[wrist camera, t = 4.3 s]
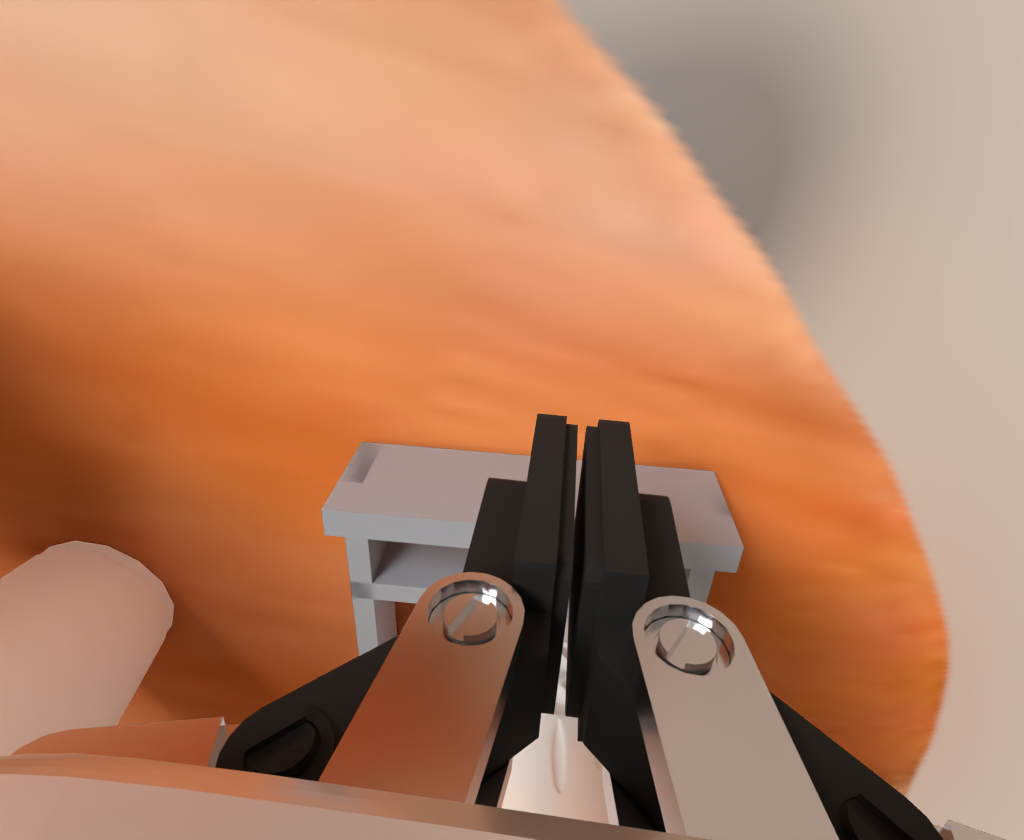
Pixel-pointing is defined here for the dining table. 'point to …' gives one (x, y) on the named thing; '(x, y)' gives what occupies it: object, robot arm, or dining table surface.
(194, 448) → the dining table surface
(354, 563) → the tray
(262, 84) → the dining table surface
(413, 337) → the dining table surface
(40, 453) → the dining table surface
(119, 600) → the foam cup
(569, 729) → the white cup
